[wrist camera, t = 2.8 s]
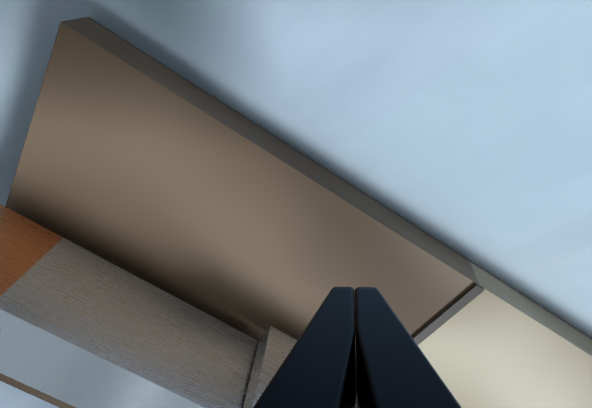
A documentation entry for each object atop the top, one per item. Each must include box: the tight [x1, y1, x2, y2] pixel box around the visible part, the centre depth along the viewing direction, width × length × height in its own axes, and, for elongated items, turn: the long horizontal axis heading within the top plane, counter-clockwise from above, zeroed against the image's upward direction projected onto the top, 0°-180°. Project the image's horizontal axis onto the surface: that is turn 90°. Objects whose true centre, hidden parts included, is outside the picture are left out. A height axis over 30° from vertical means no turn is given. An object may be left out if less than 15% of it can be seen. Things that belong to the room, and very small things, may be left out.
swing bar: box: [0, 204, 357, 408], centre depth 13 cm, size 13×4×3 cm, turn 58°
